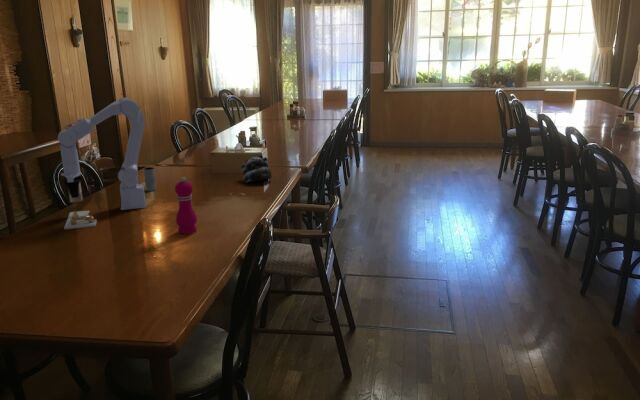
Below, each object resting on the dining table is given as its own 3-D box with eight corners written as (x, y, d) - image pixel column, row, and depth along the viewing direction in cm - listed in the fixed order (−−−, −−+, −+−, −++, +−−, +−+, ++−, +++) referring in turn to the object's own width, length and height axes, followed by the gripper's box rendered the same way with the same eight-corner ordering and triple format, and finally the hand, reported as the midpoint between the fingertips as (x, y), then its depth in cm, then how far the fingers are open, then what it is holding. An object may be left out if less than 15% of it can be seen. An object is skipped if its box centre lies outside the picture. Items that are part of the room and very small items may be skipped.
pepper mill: (201, 229, 184) (197, 175, 178) (190, 236, 178) (186, 180, 172) (184, 227, 187) (179, 174, 181) (173, 233, 180) (167, 179, 174)
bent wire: (96, 215, 197) (95, 209, 197) (93, 222, 190) (93, 216, 189) (74, 218, 195) (73, 211, 194) (71, 224, 188) (70, 218, 187)
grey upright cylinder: (153, 191, 233) (151, 169, 230) (144, 191, 233) (141, 169, 230) (158, 189, 237) (156, 167, 234) (149, 188, 238) (147, 167, 235)
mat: (89, 211, 205) (89, 210, 205) (87, 216, 199) (87, 215, 199) (70, 213, 203) (70, 212, 203) (67, 218, 197) (67, 217, 197)
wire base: (98, 217, 198) (97, 215, 198) (95, 226, 188) (95, 224, 188) (68, 220, 195) (68, 218, 195) (64, 229, 185) (63, 227, 185)
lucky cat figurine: (239, 184, 243) (234, 156, 245) (249, 188, 254) (244, 161, 257) (268, 176, 240) (262, 148, 242) (276, 180, 251) (271, 153, 254)
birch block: (82, 198, 202) (80, 181, 200) (81, 201, 198) (78, 184, 196) (71, 199, 201) (69, 182, 199) (70, 202, 197) (67, 185, 195)
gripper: (62, 158, 200) (67, 191, 204) (56, 166, 187) (61, 202, 191) (81, 157, 202) (86, 190, 206) (77, 165, 189) (82, 200, 193)
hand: (75, 195), depth 199 cm, fingers closed on birch block, 4 cm apart
